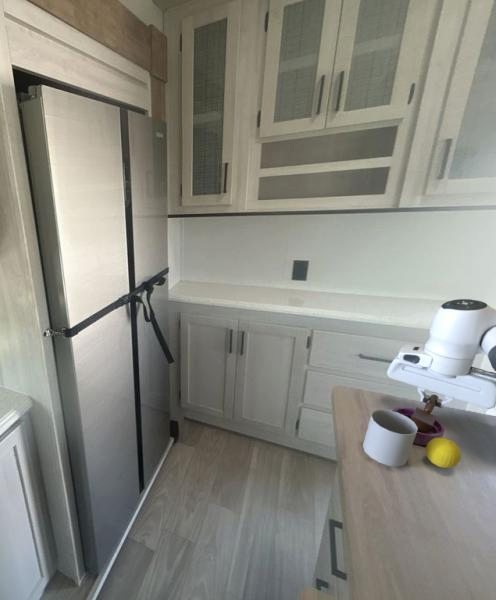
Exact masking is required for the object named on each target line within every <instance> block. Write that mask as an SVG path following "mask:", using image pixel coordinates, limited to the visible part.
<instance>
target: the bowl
mask: <svg viewBox="0 0 496 600" xmlns="http://www.w3.org/2000/svg"><path fill="white" fill-rule="evenodd" d="M415 410H416V408H411V407H405V406H404V407H403V406H402V407H396V408H393V409H392V410H391V411H394V412H398V413H400V414H402V415H404V416H406V417H408V418H409V419H410V418H411V416H412V415H413V413H414V411H415ZM445 431H446V428H445V426H444V424H443V423H442V422H441V421H440V420H439V419H437V418H436V420H435V422H434V424H433V426H432V428H431V429H430V431H429V432H428V434H426V433H421V432H417V433H416V436H415V438H414V441H413V444H415V445H418V446H425V447H426V446H427V444H428V443H429V442H430V441H431V440H432V439H434V438H444V437H443V436H444V434H445Z"/></svg>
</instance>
